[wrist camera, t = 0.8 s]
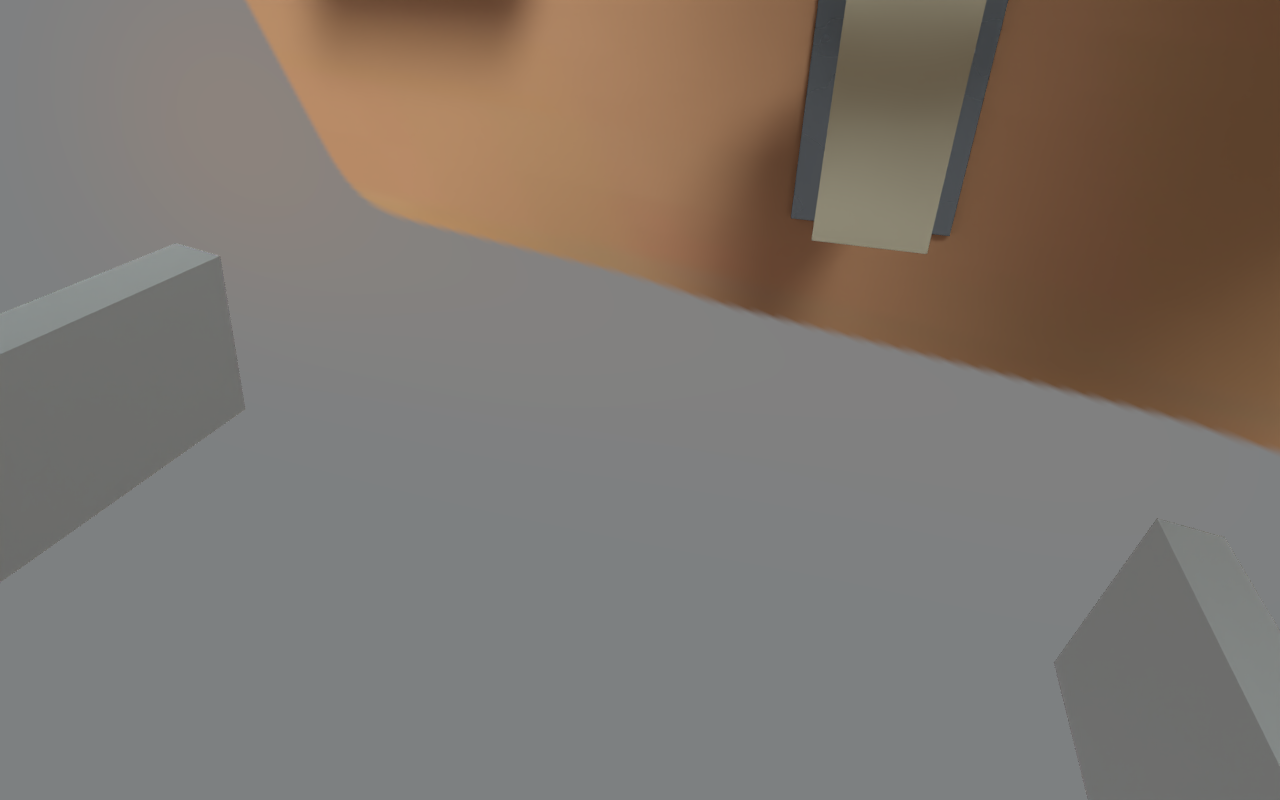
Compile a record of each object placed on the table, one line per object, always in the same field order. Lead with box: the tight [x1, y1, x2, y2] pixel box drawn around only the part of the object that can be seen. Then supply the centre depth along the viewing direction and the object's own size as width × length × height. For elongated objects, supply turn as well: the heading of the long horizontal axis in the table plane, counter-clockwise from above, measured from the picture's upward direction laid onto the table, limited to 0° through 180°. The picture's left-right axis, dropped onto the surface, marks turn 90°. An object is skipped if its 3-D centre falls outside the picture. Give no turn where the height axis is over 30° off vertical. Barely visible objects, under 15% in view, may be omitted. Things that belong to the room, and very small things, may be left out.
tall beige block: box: [791, 0, 1008, 254], centre depth 21 cm, size 15×6×10 cm, turn 179°
